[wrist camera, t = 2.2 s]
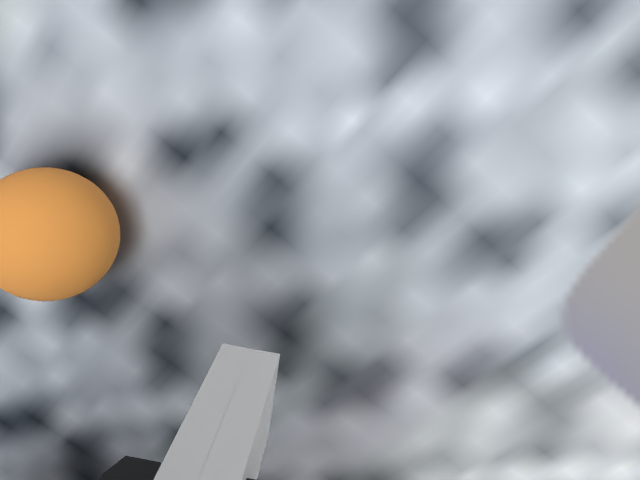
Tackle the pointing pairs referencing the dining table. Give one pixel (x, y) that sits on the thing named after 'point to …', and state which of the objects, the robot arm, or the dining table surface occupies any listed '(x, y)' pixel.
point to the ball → (54, 234)
